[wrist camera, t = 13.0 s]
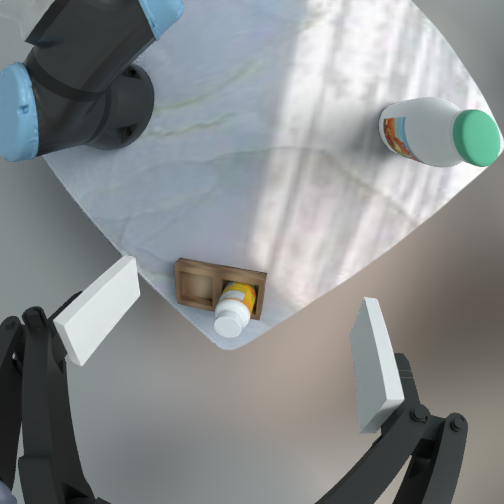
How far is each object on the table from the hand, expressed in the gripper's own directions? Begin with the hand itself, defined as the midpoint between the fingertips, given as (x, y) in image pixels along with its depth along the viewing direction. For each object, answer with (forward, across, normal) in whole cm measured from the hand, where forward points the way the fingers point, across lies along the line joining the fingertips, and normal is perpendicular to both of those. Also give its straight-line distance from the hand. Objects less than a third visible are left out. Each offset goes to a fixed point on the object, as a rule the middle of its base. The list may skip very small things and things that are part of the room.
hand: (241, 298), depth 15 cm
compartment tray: (+27, -8, -18) cm, 33 cm away
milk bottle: (+27, +16, +12) cm, 34 cm away
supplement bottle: (+26, -4, -18) cm, 32 cm away
